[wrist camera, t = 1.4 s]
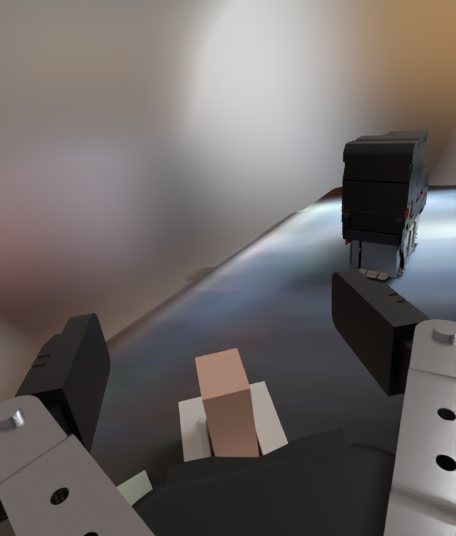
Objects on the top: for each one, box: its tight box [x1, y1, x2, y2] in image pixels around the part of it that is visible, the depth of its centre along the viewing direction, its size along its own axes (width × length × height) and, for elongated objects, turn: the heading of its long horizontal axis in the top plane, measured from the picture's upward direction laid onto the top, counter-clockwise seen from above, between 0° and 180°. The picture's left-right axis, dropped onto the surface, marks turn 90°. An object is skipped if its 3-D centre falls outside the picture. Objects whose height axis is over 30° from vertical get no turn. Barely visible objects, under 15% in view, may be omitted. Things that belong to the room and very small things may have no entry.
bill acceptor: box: [342, 131, 430, 280], centre depth 67 cm, size 10×23×25 cm, turn 145°
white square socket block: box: [179, 381, 288, 462], centre depth 37 cm, size 12×10×6 cm
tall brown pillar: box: [195, 348, 259, 457], centre depth 35 cm, size 5×4×14 cm
